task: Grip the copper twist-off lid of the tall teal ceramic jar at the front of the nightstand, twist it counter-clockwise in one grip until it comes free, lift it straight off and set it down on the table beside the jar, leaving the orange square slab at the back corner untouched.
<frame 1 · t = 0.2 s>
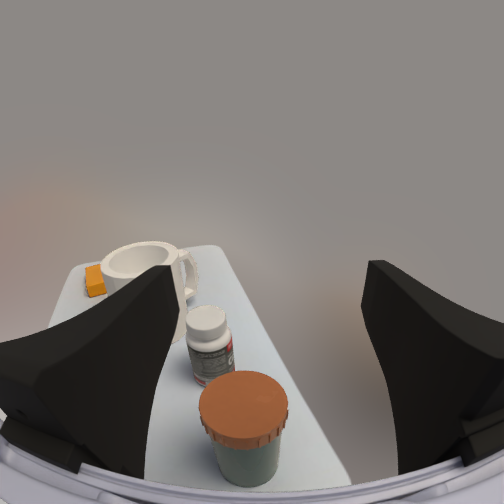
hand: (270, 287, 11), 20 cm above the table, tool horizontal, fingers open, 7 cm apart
lid: (243, 404, 17), point 10 cm above the table, screwed on, not yet turned
mug: (161, 323, 41), on the table
orange square slab: (108, 282, 51), on the table
jar: (248, 463, 22), on the table
pill bottle: (214, 374, 32), on the table
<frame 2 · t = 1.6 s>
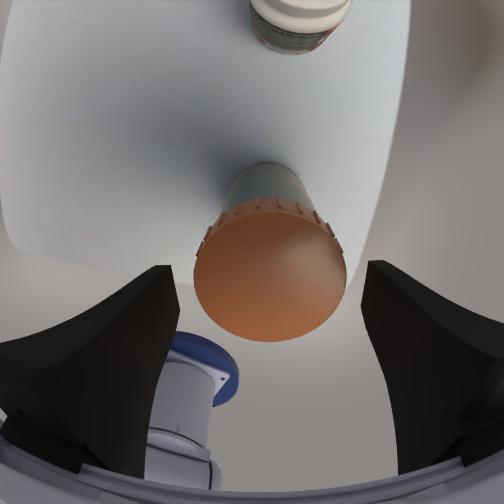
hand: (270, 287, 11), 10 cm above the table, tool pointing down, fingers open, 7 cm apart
lid: (270, 281, 11), point 10 cm above the table, screwed on, not yet turned
jar: (267, 200, 20), on the table
pill bottle: (289, 24, 15), on the table
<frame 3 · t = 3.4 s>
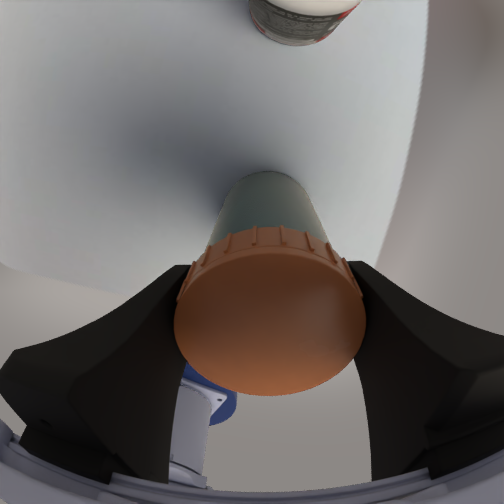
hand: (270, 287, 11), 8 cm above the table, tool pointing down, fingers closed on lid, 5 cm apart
lid: (270, 332, 9), point 10 cm above the table, screwed on, not yet turned, touching gripper
jar: (267, 214, 17), on the table
pill bottle: (293, 11, 12), on the table
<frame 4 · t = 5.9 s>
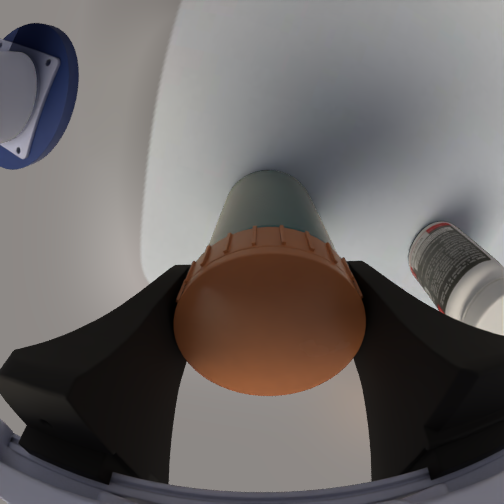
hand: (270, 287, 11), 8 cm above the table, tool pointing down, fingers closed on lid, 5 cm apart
lid: (270, 332, 9), point 10 cm above the table, off its thread, touching gripper
jar: (268, 212, 18), on the table
pill bottle: (433, 249, 18), on the table
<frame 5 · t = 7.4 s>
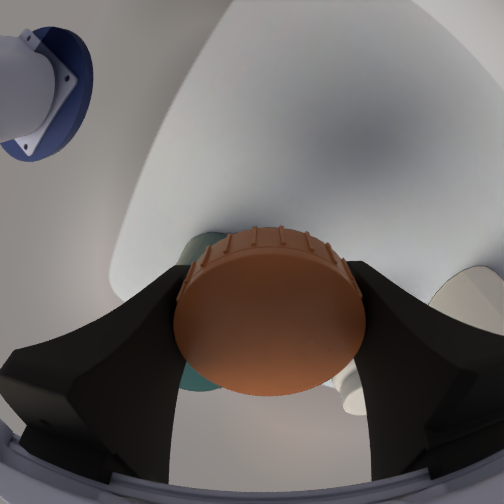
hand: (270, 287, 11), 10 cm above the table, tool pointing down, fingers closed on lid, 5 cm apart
lid: (269, 332, 9), point 13 cm above the table, off its thread, touching gripper
mug: (457, 318, 24), on the table
jar: (215, 264, 22), on the table
pill bottle: (346, 321, 25), on the table
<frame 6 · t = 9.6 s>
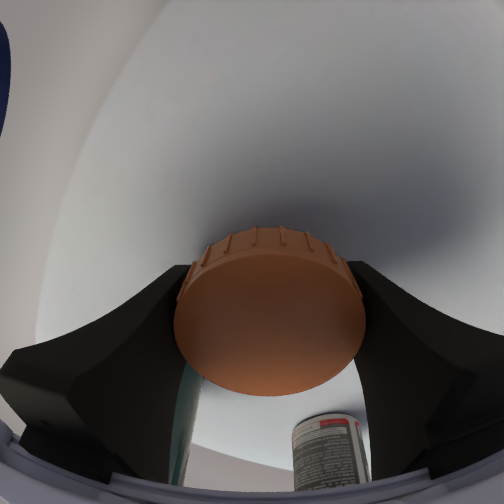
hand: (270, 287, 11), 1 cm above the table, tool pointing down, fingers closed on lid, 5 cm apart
lid: (270, 332, 9), point 4 cm above the table, off its thread, touching gripper
jar: (157, 364, 15), on the table
pill bottle: (325, 426, 18), on the table
when the fingers open (0 cm above the table, at t = 11.4 s): lid stays where it is, point 1 cm above the table.
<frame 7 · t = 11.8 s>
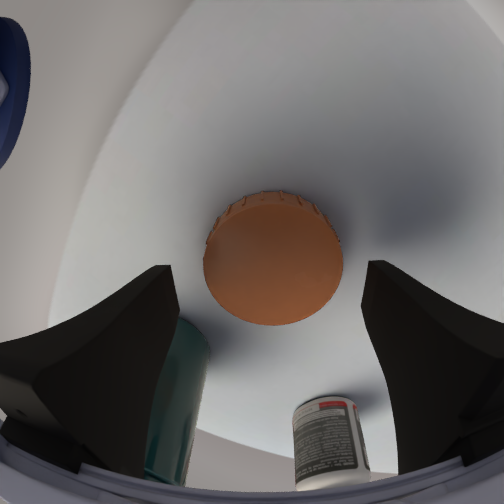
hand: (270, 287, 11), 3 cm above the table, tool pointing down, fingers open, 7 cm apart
lid: (273, 267, 12), point 1 cm above the table, off its thread
jar: (166, 346, 16), on the table
pill bottle: (324, 410, 19), on the table
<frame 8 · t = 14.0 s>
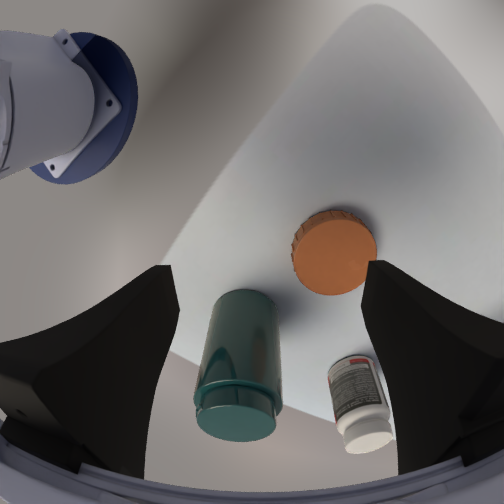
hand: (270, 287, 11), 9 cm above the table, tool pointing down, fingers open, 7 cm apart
lid: (335, 257, 19), point 1 cm above the table, off its thread
jar: (245, 316, 23), on the table
pill bottle: (350, 369, 26), on the table
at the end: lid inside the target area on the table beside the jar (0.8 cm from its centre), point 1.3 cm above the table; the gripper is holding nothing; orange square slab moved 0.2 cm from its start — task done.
